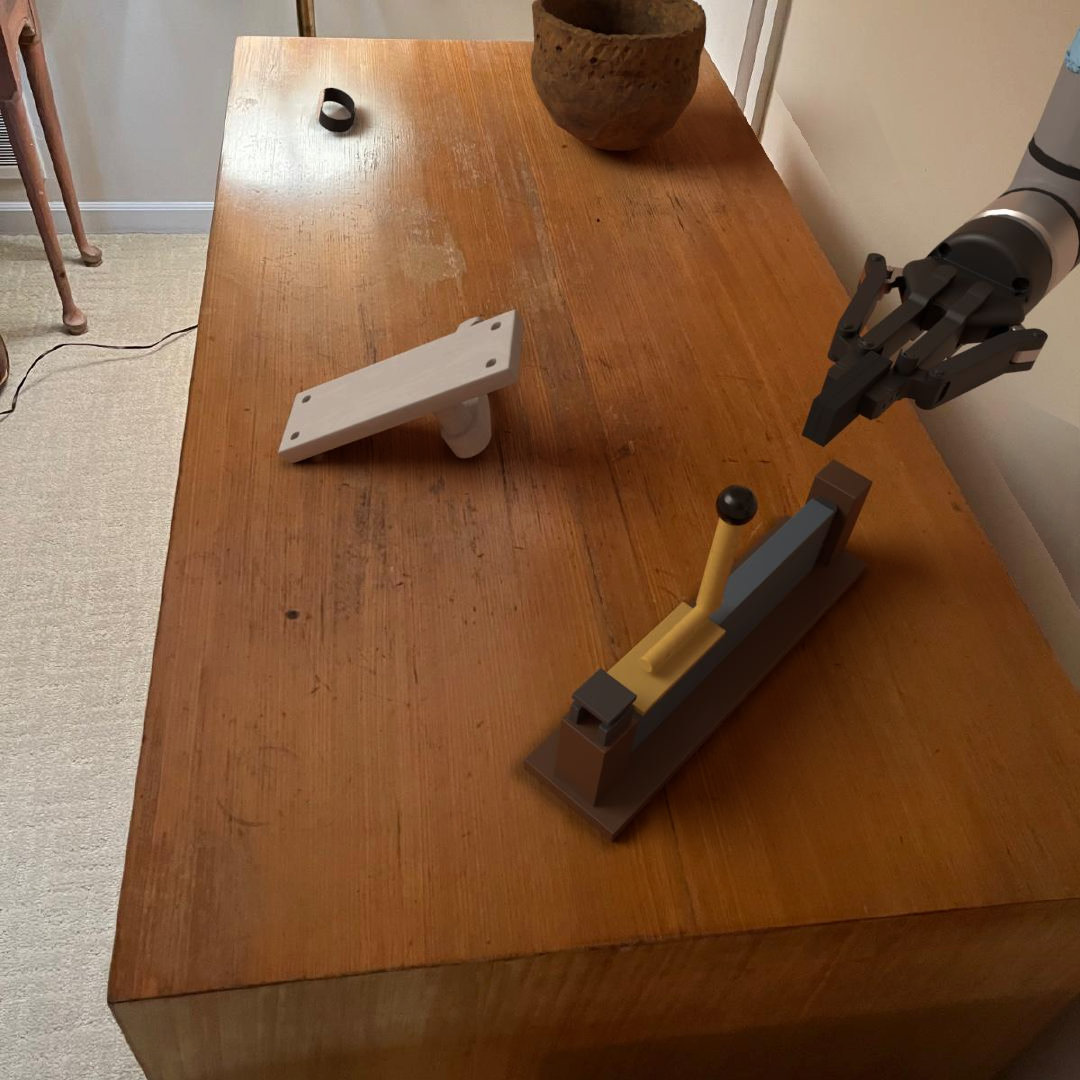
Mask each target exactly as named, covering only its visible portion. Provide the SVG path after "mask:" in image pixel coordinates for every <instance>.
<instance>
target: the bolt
mask: <svg viewBox="0 0 1080 1080" xmlns="http://www.w3.org/2000/svg"><path fill="white" fill-rule="evenodd" d="M758 506H759V504H758V499H757V496H756V494H755V492H754V491H752V489H750V488H749V487H747V486H745V485H742V484H732V485H729V486H726V487H724V488H723V489H722V490H721V491H720V493H718V495H717V497H716V500H715V511H716V514H717V516H718V517H719V518H718V521H717V524H716V529H715V531H714V532H715V533H714V535H713V539H712V543H711V547H710V550H709V554H708V557H707V560H706V565H705V568H704V572H703V575H702V579H701V583H700V586H699V590H698V593H697V597H696V598H697V600H696V604H697V605H696V606H695V607H694V608H693V609H692V610H691V611H690V612H689V613H688V614H687V615H686V616H685V617H684V618H683V619H681V620H680V621H679V622H678V623H677V624H676V625H675V626H674V627H673V628H672V629H671V630H670V631H669V632H668V633H667V634H666V635H664V636H663V637H662V638H661V639H660V640H659V641H658V642H657V643H656V644H655V645H654V646H653V647H652V648H651V649H650V650H649V651H647V652H646V653H645V654H644V655H643V656H642V657H641V658H640V659H639V665H640V667H641V668H642V669H643V670H644V671H645V672H648V673H651V672H652V671H653V670H654V669H655V668H656V667H658V666H659V665H660V664H661V663H662V662H663V661H664V660H665V659H666V658H667V657H668V656H669V655H670V654H671V653H672V652H673V651H674V650H675V649H676V648H677V647H678V646H679V645H680V644H681V643H682V642H684V641H685V640H686V639H687V638H688V637H689V636H690V635H691V634H692V633H693V632H694V631H695V630H696V629H697V628H698V627H699V626H700V625H701V624H702V623H703V622H704V621H705V620H706V619H707V618H708V617H709V616H711V615H712V614H713V613H714V612H716V611H717V610H718V609H719V607H720V606H721V605H722V604H723V598H722V597H723V594H724V591H725V587H726V584H727V581H728V578H729V574H730V571H731V568H732V565H733V564H734V562H735V558H736V555H737V552H738V547H739V544H740V541H741V539H742V535H743V532H744V529H745V525H747V524H748V523H750V522H751V521H753V519H754V518H755V516H756V514H757V513H758Z"/></svg>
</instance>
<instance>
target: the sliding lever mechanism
mask: <svg viewBox="0 0 1080 1080" xmlns="http://www.w3.org/2000/svg"><path fill="white" fill-rule="evenodd" d="M872 485H873V480H871V479H869V478H868V477H866V476H864V475H862V474H861V473H859V472H857V471H855V469H851V468H850V467H848V466H847V465H845V464H843V463H842V462H839V461H838V460H836V459H834V458H832V459H831V460H830V461H829V462H828V463H827V464H826V465H825V466H824V467H823V468H822V469H820V470H819V471H818V472H817V473H816V474H815V475H814V478H813V481H812V483H811V486H810V489H809V492H808V494H807V497H806V500H805V503H804V505H803V506H802V507H801V508H800V509H799V510H798V511H797V512H796V513H795V514H794V515H793V516H792V517H791V516H789V515H788V514H785V515H784V516H783V517H782V518H781V519H780V520H778V521H777V522H776V523H775V524H774V525H773V526H772V527H771V528H769V530H768V531H766V533H765V534H764V535H763V536H762V537H760V538H759V539H758V540H757V541H756V542H755V543H754V544H753V545H751V546H750V547H749V548H748V549H747V551H745V552H744V553H743V554H741V556H740V557H739V558H738V559H737V560H736V561H734V562H733V564H732V568H731V571H730V574H729V578H728V581H727V584H726V587H725V591H724V594H723V597H722V598H723V604H722V605H721V606H720V607H719V609H718V610H717V611H716V612H714V613H713V614H712V615H711V616H709V617H708V618H707V619H706V620H705V621H704V622H703V623H702V624H701V625H700V626H699V627H698V628H697V629H696V630H695V631H694V632H693V633H692V634H691V635H690V636H689V637H688V638H687V639H686V640H685V641H684V642H682V643H681V644H680V645H679V646H678V647H677V648H676V649H675V650H674V651H673V652H672V653H671V654H670V655H669V656H668V657H667V658H666V659H665V660H664V661H663V662H662V663H661V664H660V665H659V666H658V667H656V668H655V669H654V670H653V671H652V672H651V673H648V672H645V671H644V670H643V669H642V668H641V667H640V665H639V659H640V658H641V657H642V656H643V655H644V654H645V653H646V652H647V651H649V650H650V649H651V648H652V647H653V646H654V645H655V644H656V643H657V642H658V641H659V640H660V639H661V638H662V637H663V636H664V635H666V634H667V633H668V632H669V631H670V630H671V629H672V628H673V627H674V626H675V625H676V624H677V623H678V622H679V621H680V620H681V619H683V618H684V617H685V616H686V615H687V614H688V613H689V612H690V611H691V610H692V609H693V608H694V607H695V606H696V605H697V604H696V600H697V597H696V598H695V599H694V600H692V602H691V603H690V604H687V603H686V602H684V601H682V602H680V603H679V605H678V606H677V607H675V609H674V610H672V612H670V613H669V614H668V615H667V616H666V617H665V618H664V619H662V621H660V622H659V623H658V624H657V625H656V626H655V627H654V628H653V629H652V630H651V631H650V632H649V633H648V634H646V636H644V637H643V638H642V639H641V640H640V641H639V642H638V643H636V645H635V646H634V647H633V648H631V650H630V651H628V652H627V653H626V654H625V655H624V656H623V657H622V658H621V659H619V660H618V661H617V662H616V663H615V664H614V665H613V666H612V667H611V668H610V669H609V670H608V671H605V670H604V669H603V668H600V667H599V669H598V670H596V671H595V672H594V673H593V674H592V675H591V676H590V677H589V678H587V680H585V682H583V683H582V684H581V685H580V686H579V687H578V688H577V689H576V690H575V691H574V692H573V693H572V694H571V699H573V702H571V704H570V707H569V708H570V709H569V710H568V711H567V712H566V713H565V714H564V715H563V716H562V717H561V718H560V723H559V724H560V725H559V726H558V727H557V728H556V729H555V730H554V731H553V732H552V733H550V734H549V735H548V736H547V737H546V738H545V739H544V740H543V741H542V742H541V743H539V744H538V746H536V747H535V749H534V750H532V751H531V752H530V753H529V754H528V755H527V756H526V757H525V758H524V759H523V769H525V771H527V772H528V773H529V774H530V775H531V776H533V777H534V778H535V779H537V781H539V782H540V783H541V784H542V785H543V786H544V787H546V788H547V789H548V790H549V791H550V792H551V793H553V794H554V795H555V796H556V797H558V798H559V799H560V800H561V801H563V803H565V804H566V805H567V806H568V807H570V808H571V809H572V810H573V812H576V813H577V814H578V815H579V816H580V817H581V818H583V819H584V820H585V822H587V823H588V824H590V825H591V826H592V827H593V828H594V829H596V830H597V831H598V832H599V833H600V834H601V835H603V836H604V837H605V838H606V839H608V840H609V841H610V843H611V842H613V841H614V840H616V838H617V837H618V836H619V835H620V834H621V833H622V832H623V831H624V830H625V828H626V827H627V826H628V825H629V824H630V823H631V822H632V821H633V820H634V819H635V818H636V817H637V816H638V815H639V814H640V812H641V811H642V810H643V809H644V808H645V807H646V806H647V805H648V804H649V803H650V802H651V801H652V800H653V798H654V797H656V795H658V793H659V792H660V791H661V790H662V789H663V788H664V787H665V786H666V784H668V782H670V780H671V779H672V778H673V777H674V776H675V775H676V774H677V773H678V772H679V771H680V770H681V769H682V768H683V766H684V765H686V763H687V762H688V761H689V760H690V759H691V758H692V757H693V756H694V755H695V754H696V752H698V750H699V749H700V748H701V747H702V746H703V745H704V744H705V743H706V742H707V741H708V740H709V739H710V737H711V736H712V735H713V734H714V733H715V732H716V731H717V730H718V729H719V728H720V727H721V726H722V725H723V723H725V721H726V720H727V719H728V718H729V717H730V716H731V715H732V714H733V713H734V712H735V711H736V710H737V708H739V706H740V705H741V704H742V703H743V702H744V701H745V700H746V699H747V698H748V697H749V696H750V694H752V692H753V691H754V690H756V688H757V687H758V686H760V684H761V683H762V682H763V681H764V680H765V679H766V677H768V675H769V674H770V673H772V671H773V670H774V669H775V668H776V667H777V666H778V665H779V663H780V662H782V660H783V659H785V657H786V656H787V655H788V654H789V653H790V652H791V651H792V650H793V649H794V647H796V645H797V644H798V643H799V642H800V641H801V640H802V639H803V638H804V637H805V636H806V635H807V633H808V632H809V631H811V630H812V628H813V627H814V626H815V625H817V623H818V621H820V620H821V618H822V617H824V615H825V614H826V613H828V611H829V610H830V609H831V608H832V607H833V606H834V605H835V603H837V601H839V600H840V598H841V597H842V596H843V595H844V594H845V593H846V591H848V589H850V587H851V586H852V585H853V584H854V583H855V582H856V581H857V580H859V578H860V577H861V576H862V575H863V574H864V572H865V569H866V568H867V565H868V563H867V562H865V561H863V560H861V559H860V558H859V557H857V556H855V555H853V554H851V553H850V552H849V551H847V550H846V548H847V545H848V543H849V540H850V538H851V535H852V532H853V530H854V528H855V526H856V523H857V521H858V519H859V517H860V514H861V511H862V509H863V507H864V504H865V503H866V499H867V497H868V495H869V492H870V490H871V488H872Z"/></svg>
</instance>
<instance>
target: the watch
mask: <svg viewBox="0 0 1080 1080" xmlns="http://www.w3.org/2000/svg"><path fill="white" fill-rule="evenodd" d="M326 102H331V103H332V102H333V103H337V104H339V105H340V106H342V107H343V108H344V109H347V111H348V112H349V115H350V116H349V117H348V118H343V119H342V118H334V117H331V116H329V115H327V114H326V113H325V112H324V110H323V108H324V103H326ZM316 105H317V106H316V111H315V119H314V120H315V121H317V122H318V123H319V124H320V126H321V127H322V128H323V129H325V130H326V131H329V132H332V133H338V134H339V133H340V134H341V133H346V132H348V131H349V130H350V129H352V127H353V126H354V123H355V118H356V113H357V107H356V105H355V101H354V99H353V98H352V97H351V96H350V95H349V94H348V93H347V92H345V91H344V90H341V89H339V88H337V87H326V88H324V89H322V90H320V91H319V93H318V99H317V104H316Z"/></svg>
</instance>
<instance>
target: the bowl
mask: <svg viewBox="0 0 1080 1080" xmlns="http://www.w3.org/2000/svg"><path fill="white" fill-rule="evenodd" d="M531 13H532V27H533V48H532V53H531V56H530V73H531V81H532V83H533V86H534V88H535V91H536V93H537V95H538V98H539V99H540V101H541V102H542V104H543V105H544V107H545V110H546V111H547V112H548V114H549V116H550V117H551V119H552V121H553V122H554V124H555V125H557V126H558V127H559V128H561V129H563V130H564V131H565V132H567V133H568V134H570V135H571V136H573V137H575V138H576V139H578V141H580V142H581V143H582V144H584V145H587V146H588V147H591V148H596V149H601V150H605V151H617V152H623V151H624V152H625V151H632V150H636V149H640V148H643V147H645V146H648V145H650V144H652V143H653V142H654V141H656V140H657V139H659V138H661V137H662V136H663V135H665V134H666V133H667V132H669V131H670V130H672V129H673V128H674V127H675V125H676V124H677V122H678V120H679V119H680V117H681V115H683V113H684V111H685V110H686V109H687V107H688V106H689V105H690V104H691V102H692V100H693V98H694V97H695V96H694V95H695V94H696V92H697V88H698V83H699V79H700V78H699V77H700V66H701V56H702V53H703V49H704V47H705V43H706V37H707V36H706V35H707V16H706V12H705V9H703V5H702V4H699V3H698V1H695V0H534V1H533V2H532V3H531Z"/></svg>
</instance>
